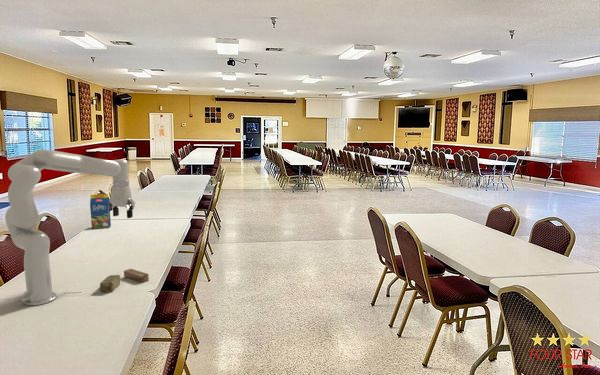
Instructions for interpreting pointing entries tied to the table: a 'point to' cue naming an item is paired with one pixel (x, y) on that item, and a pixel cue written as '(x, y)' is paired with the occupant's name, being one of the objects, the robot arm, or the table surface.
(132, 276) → the brown rectangular bar
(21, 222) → the robot arm
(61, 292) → the table surface
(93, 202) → the blue food package
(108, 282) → the stone block
